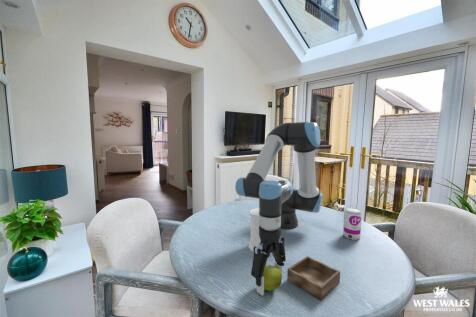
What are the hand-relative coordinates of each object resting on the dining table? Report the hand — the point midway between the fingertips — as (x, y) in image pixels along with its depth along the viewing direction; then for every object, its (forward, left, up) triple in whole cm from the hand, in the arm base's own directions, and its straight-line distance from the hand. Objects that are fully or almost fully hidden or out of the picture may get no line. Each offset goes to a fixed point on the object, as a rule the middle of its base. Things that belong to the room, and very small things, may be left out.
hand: (269, 287), depth 78 cm
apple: (0, 0, 0) cm, 0 cm away
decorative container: (-22, +19, -1) cm, 29 cm away
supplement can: (+2, +65, -1) cm, 65 cm away
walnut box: (+8, +16, -1) cm, 18 cm away
